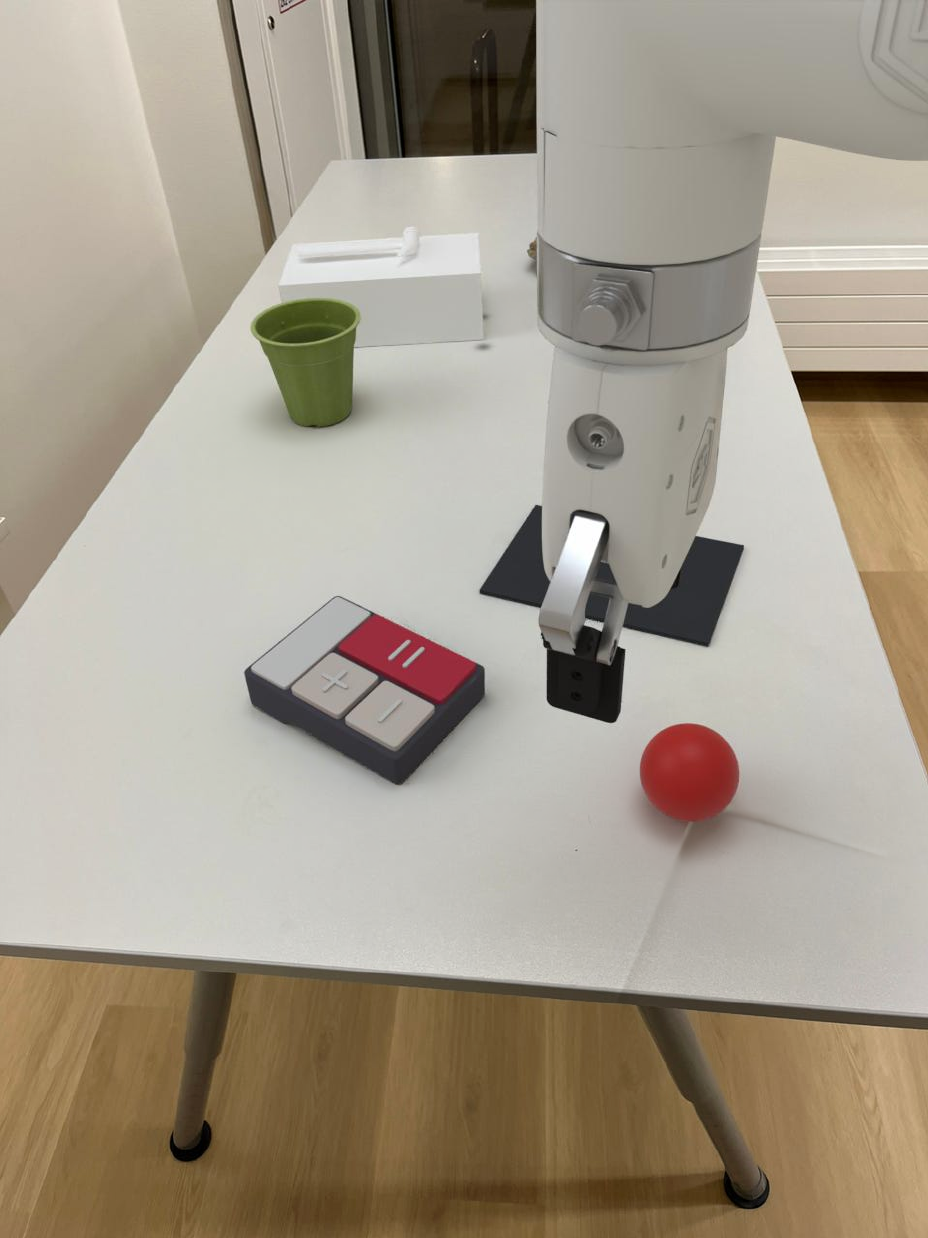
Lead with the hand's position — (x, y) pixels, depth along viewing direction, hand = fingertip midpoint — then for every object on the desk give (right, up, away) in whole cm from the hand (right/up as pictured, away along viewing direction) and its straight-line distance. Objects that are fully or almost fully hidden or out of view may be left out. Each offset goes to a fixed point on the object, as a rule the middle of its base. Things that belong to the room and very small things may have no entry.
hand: (618, 640), depth 45 cm
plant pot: (-24, +25, +65) cm, 73 cm away
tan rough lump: (+7, +53, +95) cm, 109 cm away
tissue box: (-17, +41, +83) cm, 94 cm away
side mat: (+6, +5, +40) cm, 41 cm away
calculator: (-15, -5, +29) cm, 33 cm away
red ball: (+8, -9, +18) cm, 22 cm away
